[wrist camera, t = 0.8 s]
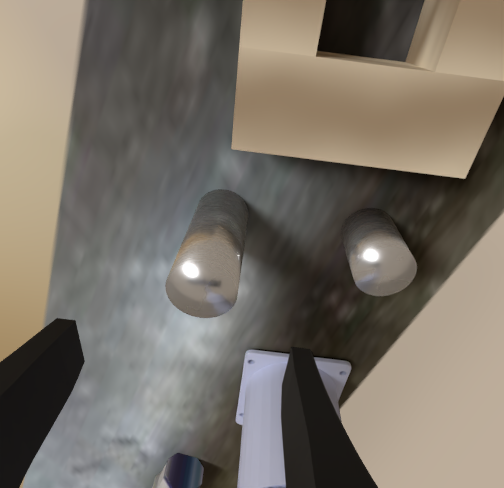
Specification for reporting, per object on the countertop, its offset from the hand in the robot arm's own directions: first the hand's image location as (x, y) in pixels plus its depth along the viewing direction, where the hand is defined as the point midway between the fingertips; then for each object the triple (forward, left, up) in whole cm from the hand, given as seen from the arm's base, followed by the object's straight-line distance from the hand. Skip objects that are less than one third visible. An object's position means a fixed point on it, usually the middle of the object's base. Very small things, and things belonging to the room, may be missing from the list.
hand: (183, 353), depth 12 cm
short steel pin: (0, -9, -10) cm, 13 cm away
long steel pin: (0, 0, -10) cm, 10 cm away
